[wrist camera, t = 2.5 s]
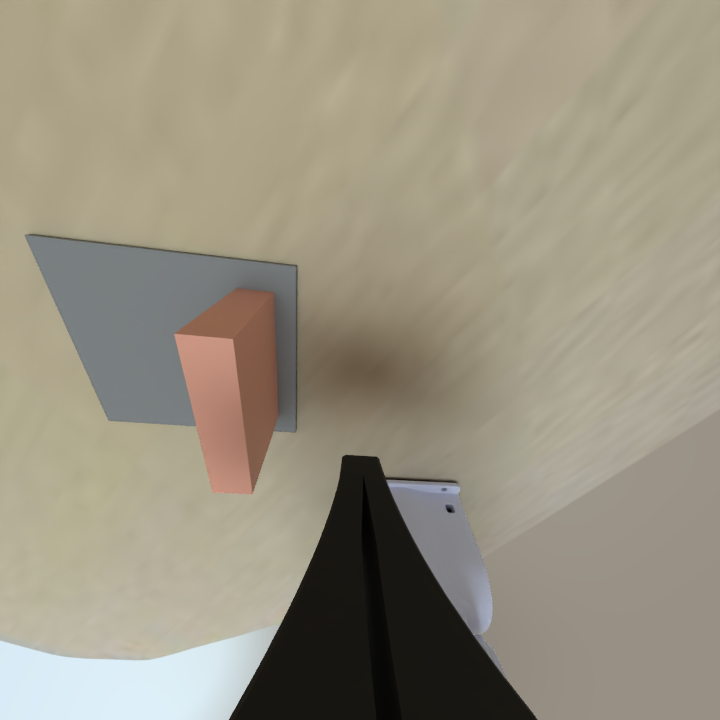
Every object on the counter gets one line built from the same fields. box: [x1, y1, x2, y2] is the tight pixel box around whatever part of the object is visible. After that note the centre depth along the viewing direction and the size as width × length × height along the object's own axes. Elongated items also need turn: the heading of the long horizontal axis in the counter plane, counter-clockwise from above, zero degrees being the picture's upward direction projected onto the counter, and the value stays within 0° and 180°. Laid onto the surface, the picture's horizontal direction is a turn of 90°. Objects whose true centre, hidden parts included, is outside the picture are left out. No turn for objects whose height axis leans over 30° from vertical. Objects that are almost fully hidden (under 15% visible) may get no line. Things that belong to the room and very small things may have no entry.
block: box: [174, 288, 279, 494], centre depth 14 cm, size 2×9×6 cm, turn 173°
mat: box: [25, 234, 297, 432], centre depth 17 cm, size 13×12×1 cm
